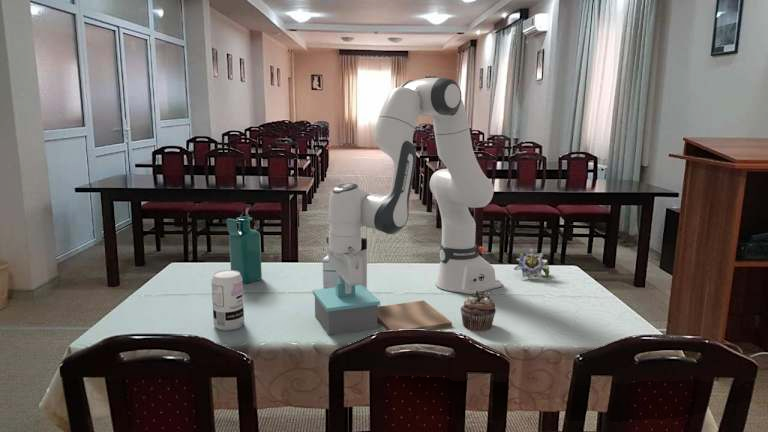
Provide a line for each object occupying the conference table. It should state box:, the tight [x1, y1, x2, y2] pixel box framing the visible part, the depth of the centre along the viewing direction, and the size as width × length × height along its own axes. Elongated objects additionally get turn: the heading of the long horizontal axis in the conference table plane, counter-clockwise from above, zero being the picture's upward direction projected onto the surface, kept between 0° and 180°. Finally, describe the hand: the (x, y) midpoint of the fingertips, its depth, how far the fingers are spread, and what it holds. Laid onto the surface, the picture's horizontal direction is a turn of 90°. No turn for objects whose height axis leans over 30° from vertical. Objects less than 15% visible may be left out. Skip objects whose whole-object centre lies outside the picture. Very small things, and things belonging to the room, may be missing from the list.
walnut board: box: [377, 300, 453, 331], centre depth 166 cm, size 18×18×1 cm
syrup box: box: [322, 254, 339, 289], centre depth 178 cm, size 6×6×14 cm
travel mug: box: [357, 237, 368, 290], centre depth 179 cm, size 6×7×20 cm
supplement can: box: [210, 269, 245, 331], centre depth 159 cm, size 8×8×15 cm
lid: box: [312, 281, 381, 312], centre depth 161 cm, size 15×15×6 cm
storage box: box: [314, 296, 379, 336], centre depth 163 cm, size 14×14×7 cm
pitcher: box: [225, 216, 263, 285], centre depth 196 cm, size 10×8×22 cm
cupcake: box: [460, 291, 497, 332], centre depth 161 cm, size 10×10×10 cm
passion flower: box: [514, 247, 550, 281], centre depth 205 cm, size 11×11×12 cm
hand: (345, 290), depth 161 cm, fingers closed on lid, 2 cm apart
